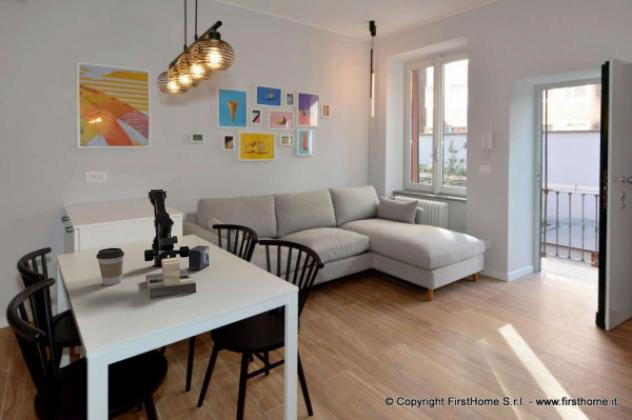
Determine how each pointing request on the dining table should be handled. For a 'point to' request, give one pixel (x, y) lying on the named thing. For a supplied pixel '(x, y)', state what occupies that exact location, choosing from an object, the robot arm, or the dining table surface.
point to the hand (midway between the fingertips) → (169, 270)
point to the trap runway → (159, 290)
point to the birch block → (170, 271)
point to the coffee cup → (111, 265)
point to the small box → (199, 258)
